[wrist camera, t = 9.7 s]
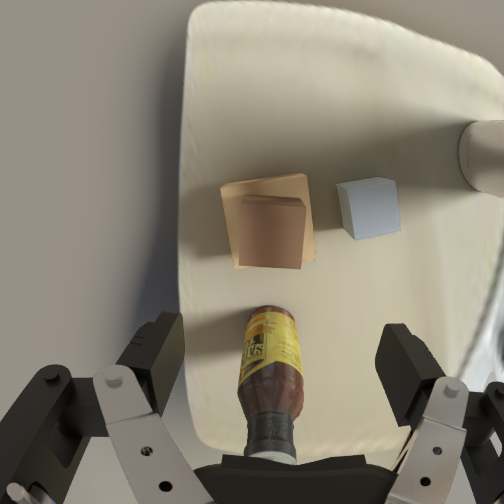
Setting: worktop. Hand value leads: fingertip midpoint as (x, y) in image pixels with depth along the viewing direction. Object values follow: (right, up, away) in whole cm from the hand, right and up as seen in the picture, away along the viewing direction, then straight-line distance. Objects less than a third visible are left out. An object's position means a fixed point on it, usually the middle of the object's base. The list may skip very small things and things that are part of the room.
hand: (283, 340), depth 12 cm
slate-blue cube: (+11, +9, +21) cm, 25 cm away
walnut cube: (+1, +6, +17) cm, 18 cm away
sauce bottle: (+1, -6, +26) cm, 27 cm away
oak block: (+1, +8, +22) cm, 23 cm away
